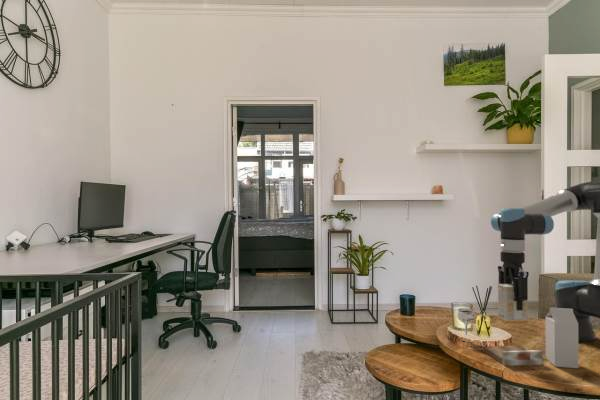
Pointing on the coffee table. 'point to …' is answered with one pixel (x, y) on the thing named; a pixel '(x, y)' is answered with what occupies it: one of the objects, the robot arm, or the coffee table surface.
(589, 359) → the coffee table surface
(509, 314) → the supplement box
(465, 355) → the coffee table surface
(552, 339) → the milk carton
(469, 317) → the wineglass
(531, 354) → the grey flat box
